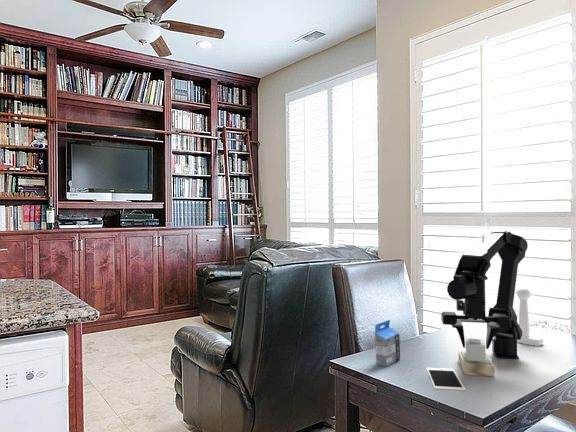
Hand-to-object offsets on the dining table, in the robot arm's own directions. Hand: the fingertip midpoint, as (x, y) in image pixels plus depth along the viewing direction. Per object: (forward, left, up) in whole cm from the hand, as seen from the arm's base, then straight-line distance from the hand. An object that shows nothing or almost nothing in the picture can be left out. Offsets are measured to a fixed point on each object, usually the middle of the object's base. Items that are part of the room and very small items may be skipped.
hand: (475, 348), depth 128 cm
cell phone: (+10, +11, -7) cm, 16 cm away
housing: (0, 0, -3) cm, 3 cm away
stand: (0, 0, -6) cm, 6 cm away
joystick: (-22, -34, -6) cm, 41 cm away
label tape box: (+26, 0, -6) cm, 26 cm away
